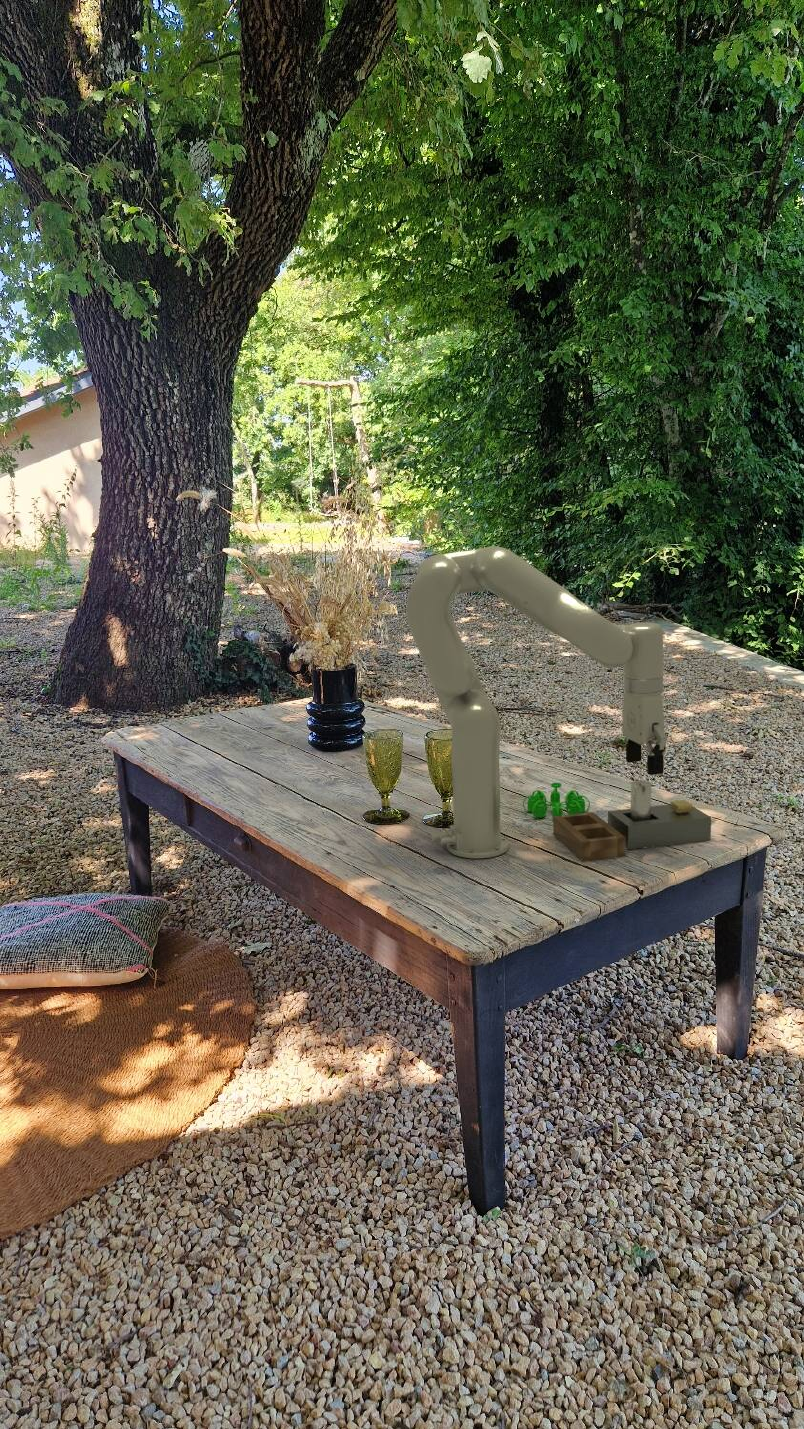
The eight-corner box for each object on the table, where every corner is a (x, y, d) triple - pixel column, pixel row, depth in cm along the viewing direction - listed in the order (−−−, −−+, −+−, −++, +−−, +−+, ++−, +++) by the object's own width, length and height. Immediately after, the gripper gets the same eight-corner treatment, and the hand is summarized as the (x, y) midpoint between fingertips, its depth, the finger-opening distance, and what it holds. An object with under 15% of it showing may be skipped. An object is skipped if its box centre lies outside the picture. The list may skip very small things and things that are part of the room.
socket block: (628, 850, 182) (628, 826, 181) (607, 833, 191) (607, 811, 190) (710, 840, 185) (711, 817, 184) (686, 824, 195) (686, 802, 193)
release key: (677, 836, 187) (677, 806, 186) (669, 831, 190) (670, 801, 189) (691, 834, 188) (692, 804, 186) (683, 829, 191) (684, 800, 189)
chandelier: (592, 824, 198) (592, 794, 196) (523, 824, 200) (523, 794, 198) (587, 803, 213) (587, 774, 211) (522, 802, 214) (522, 774, 213)
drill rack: (582, 861, 177) (582, 842, 176) (553, 834, 192) (553, 816, 191) (625, 856, 178) (625, 837, 178) (593, 829, 194) (593, 812, 193)
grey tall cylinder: (635, 843, 185) (636, 787, 183) (627, 836, 189) (627, 781, 186) (653, 841, 186) (654, 785, 183) (644, 834, 190) (645, 780, 187)
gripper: (608, 680, 188) (609, 759, 192) (645, 695, 171) (646, 781, 175) (641, 676, 189) (642, 755, 193) (682, 691, 173) (682, 777, 176)
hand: (644, 767), depth 184 cm, fingers open, 9 cm apart
